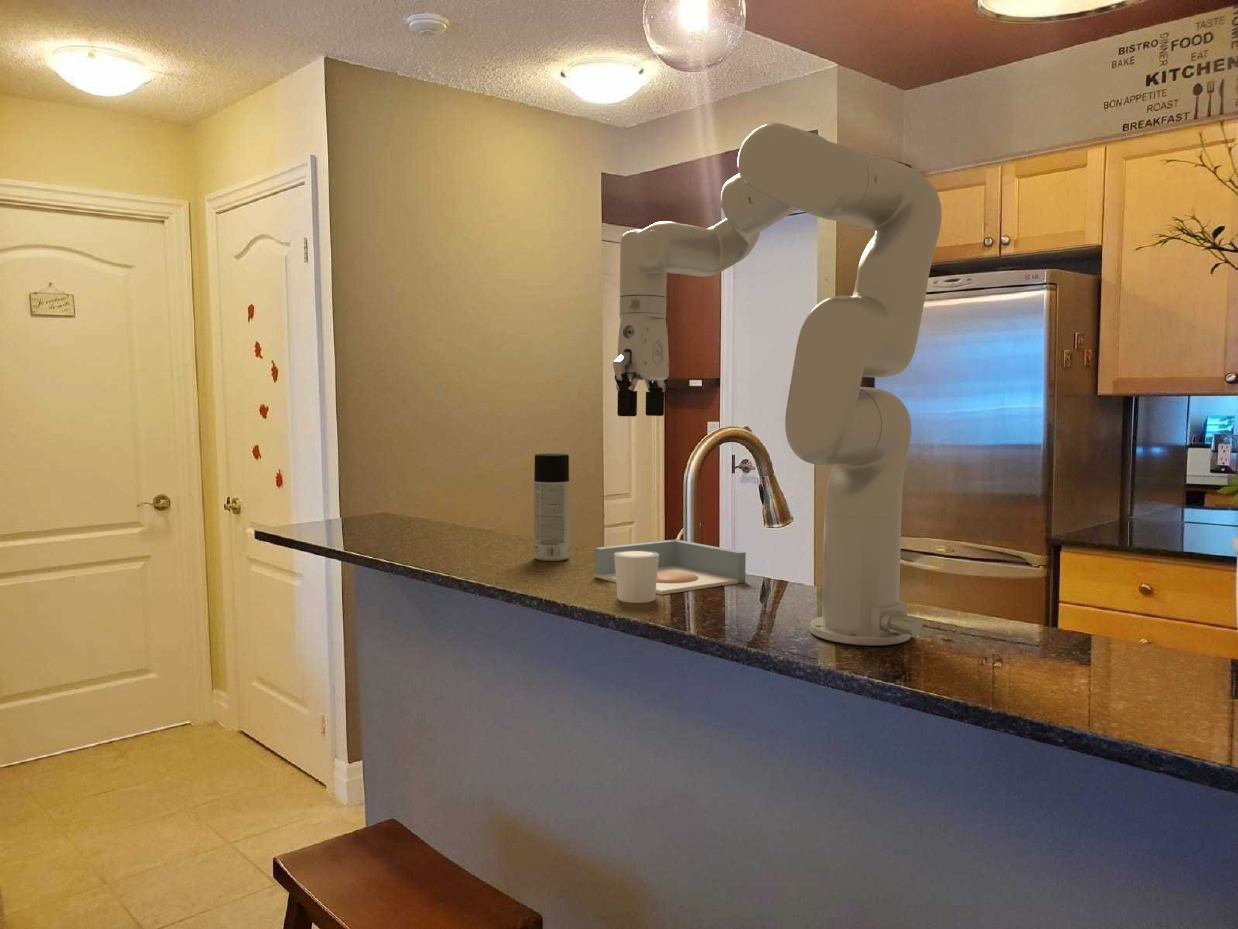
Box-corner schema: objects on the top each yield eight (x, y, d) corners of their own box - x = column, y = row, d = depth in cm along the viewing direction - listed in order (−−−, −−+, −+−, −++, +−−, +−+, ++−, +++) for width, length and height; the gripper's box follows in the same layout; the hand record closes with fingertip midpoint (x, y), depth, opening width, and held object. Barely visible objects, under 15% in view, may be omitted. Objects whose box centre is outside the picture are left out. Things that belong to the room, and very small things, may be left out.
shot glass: (660, 594, 142) (660, 550, 142) (657, 604, 135) (657, 557, 135) (615, 593, 143) (616, 549, 142) (611, 603, 136) (611, 556, 135)
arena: (745, 582, 153) (745, 552, 152) (661, 594, 142) (661, 562, 142) (675, 566, 167) (675, 539, 167) (594, 577, 156) (594, 548, 156)
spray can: (576, 558, 176) (576, 454, 175) (555, 563, 170) (555, 455, 169) (548, 555, 179) (548, 453, 178) (526, 559, 174) (526, 454, 172)
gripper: (638, 303, 138) (637, 417, 139) (686, 313, 153) (684, 416, 154) (595, 305, 142) (594, 416, 143) (646, 314, 157) (644, 415, 158)
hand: (641, 415), depth 149 cm, fingers open, 9 cm apart
